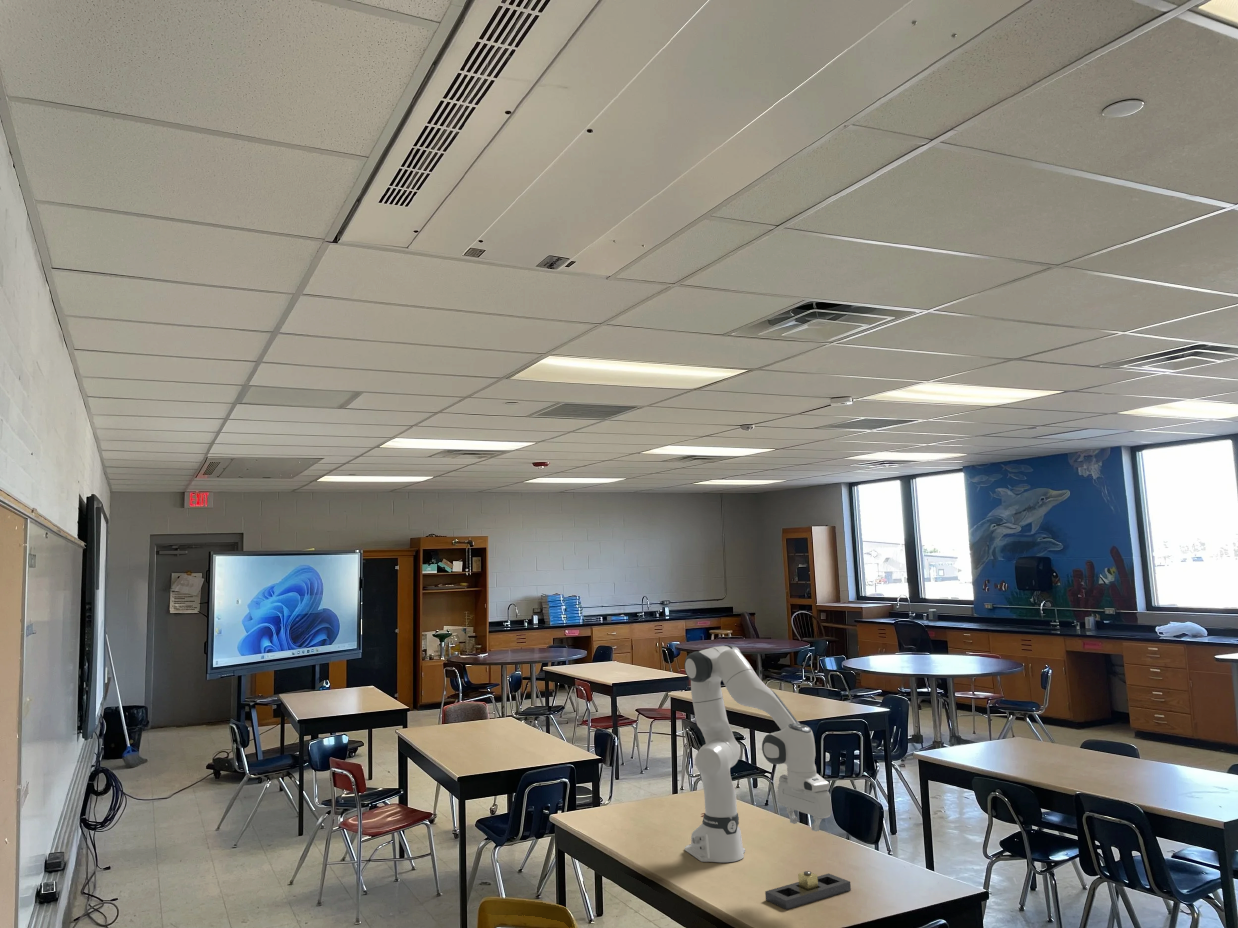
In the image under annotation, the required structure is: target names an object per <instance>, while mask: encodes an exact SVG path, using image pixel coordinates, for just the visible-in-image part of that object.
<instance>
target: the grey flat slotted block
mask: <svg viewBox="0 0 1238 928" xmlns="http://www.w3.org/2000/svg"><path fill="white" fill-rule="evenodd" d="M817 878H818V888H817V889H813V890H810V891H807V890H804V889H802V888H800V887H799V881H797V882H794V883H793V882H792V883H790V884H786V885H783V886H780V887H775V888H772V889H769V890H765V891H764V894H765V901H767V902H768V903H771V904H773V905H775V906H777V907H780V908H782V909H784V910H785V911H786V910H791V909H794V908H797V907H800V906H803V905H804V906H805V905H807V904H811V903H814V902H817V901H821V900H823V899H827V898H830V897H833V896H837V895H839V894H843V893H846V892H849V891H850V892H851V891H852V888H851V881H850V880H847V879H845V878H842V877H839V876H837V875H834V874H832V873H825V874H822V875H819V876H818V875H817Z"/></svg>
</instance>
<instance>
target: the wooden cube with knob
mask: <svg viewBox="0 0 1238 928" xmlns="http://www.w3.org/2000/svg"><path fill="white" fill-rule="evenodd" d="M797 875H798V876H797V877H798V882H799V887H800V888H802V889H804V890H807V891H810V890H813V889H817V888H818V878H817V877H818V873H817V874H816V873H813V872H811V871H809V870H807V871H806V870H805V871H803V872H799V873H797Z"/></svg>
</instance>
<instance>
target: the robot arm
mask: <svg viewBox="0 0 1238 928" xmlns="http://www.w3.org/2000/svg"><path fill="white" fill-rule="evenodd" d="M683 665H684V672H685V674H686V677H687V678H688V680H689V681H690V691H691V692H690V693H691V700H692V705H693V712H694V717H695V722H696V725H697V727H698V728H699V729H700V731H701V733H702V736H703V737H704V739H703V740H704V741H705V742H704V743H705V744H703V745H702V746H701V747H700V748H699V750H698V751H697V753H696V755H695V758H694V760H695V761H694V762H695V766H696V770H697V771H698V772H699V775H700V779H701V782H702V787H703V794H704V810H705V811H704V812H703V813H701V816H700V818H702V823H701V824H700V825H699V826H698V827H697V828H696V829H693V831H692V832H691V837H690V838H691V839H690V841H691V842H690V844H687V845H686V846H684V851H685V852H686V853H688V854H689V855H692V856H693V857H694V858H695V859H697V860H699V861H700V862H702V863H703V862H705V863H709V862H711V863H733V862H738V861H740V860H742V859H743V858H744V857H745V855H744V854H745V852H746V848H745V847H744V846H743V839H742V832H741V827H740V826H739V824H740V821H739V820H740V819H739V818H740V817H739V812H738V809H737V790H736V788H735V787H734V783H733V780H732V776H731V768H733V767H734V766H736V764H737V763H738V761H739V758H740V756H741V746H740V744H739V742H738V741H737V740H736V738H735V736H734V733H733V731H732V728H731V725H730V723H729V720H728V716H727V710H726V706H725V701H724V696H723V691H722V686H721V682H723V685H724V686H725V688H726V690H727V692H728V694H729V696H730V697H731V698H732V700H734V701H735V702H736V703H737V704H738V705H741V706H744V707H748V708H754V709H756V710H760V711H763V712H765V713H766V714H767V715H769V716H770V717H771V718H772V720H773V721H774V722H775V724H776V725H777V727H779V729H780V730H779V731H774V732H771V733H769V734H766V735H765V736H764V737H763V740H762V743H761V751H762V754H763V757H764V758H765V760H766V761H767V762H768V763H769V764H772V765H783V764H784V765H786V772H787V773H786V774H784V773H783V774H782V775H780V776H779V777H778V785H777V797H776V798H777V803H778V805H779V806H781V807H785V808H786V812H787V815H788V817H789V823H791V824H793V825H794V824H797V823H798V816H796V814H795V811H797V812H800V813H803V814H807V815H810V816H812V818H813V820H814V821H813V823H812V824H811V830H812V831H813V832H819V831H820V825H821V822H822V820H823V819H827V818H829V817H830V816H831V815H832V800H831V794H830V792H829V791H828V790H830V783H829V782H828V781H827V780H826V779H825V778H823V777H822V776H821V775H819V773H817V765H816V764H815V761H816V760H815V759H816V756H817V755H816V743H815V736H814V733H813V730H812V728H811V727H810V726H808V725H806V724H803V723H800V722H799V721H798V720H797V718H796V717H795V716H794V715H793V713H792V712H791V710H790V709H789V708H788V707H787V706H786V704H785V703H784V702H783V700H782V699H781V698H780V697H779V695H778V694H777V693H776V692H775V691H774V690H773V689H771V688H770V687H768V686H767V684H765V683H764V682H763V681H762V679H761V678H760V677H759V676H758V675H757V673H756V672H755V670H754V668H753V667H752V666H751V664H750V662H749V661H748V660H747V659H746V657H745V656H744V655H743V653H742V651H741V650H740V648H738V647H737V646H736V645H731V644H726V645H721V646H713V647H709V648H706V649H702V650H698V651H694V652H693V651H692V653H691V652H690V653H689V654H688V655H687V656H686V657H685V660H684V664H683Z"/></svg>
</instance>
